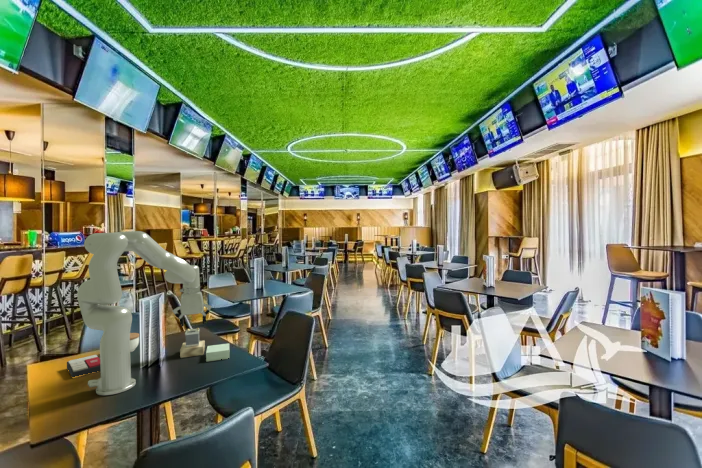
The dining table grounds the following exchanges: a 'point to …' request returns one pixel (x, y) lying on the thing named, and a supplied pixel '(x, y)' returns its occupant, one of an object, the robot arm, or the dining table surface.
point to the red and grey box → (84, 365)
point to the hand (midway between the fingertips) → (193, 324)
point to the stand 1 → (192, 350)
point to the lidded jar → (134, 341)
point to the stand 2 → (217, 352)
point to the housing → (192, 337)
